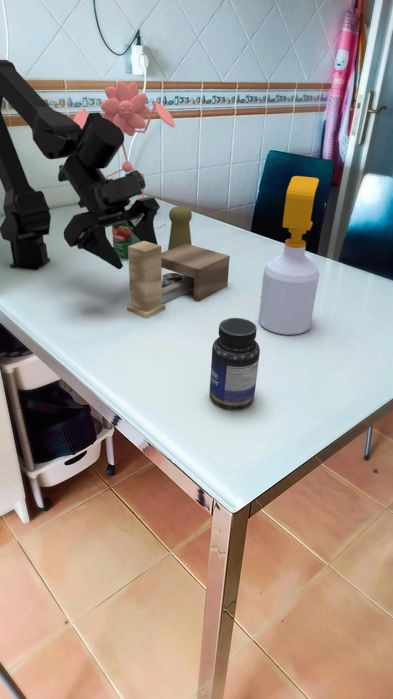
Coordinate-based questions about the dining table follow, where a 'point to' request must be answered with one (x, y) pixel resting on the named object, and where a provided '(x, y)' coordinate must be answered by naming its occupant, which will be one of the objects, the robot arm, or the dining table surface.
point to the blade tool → (150, 281)
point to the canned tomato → (123, 238)
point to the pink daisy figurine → (127, 114)
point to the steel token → (171, 279)
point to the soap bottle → (291, 267)
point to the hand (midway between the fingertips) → (140, 260)
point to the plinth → (199, 268)
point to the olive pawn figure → (179, 227)
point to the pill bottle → (234, 364)
